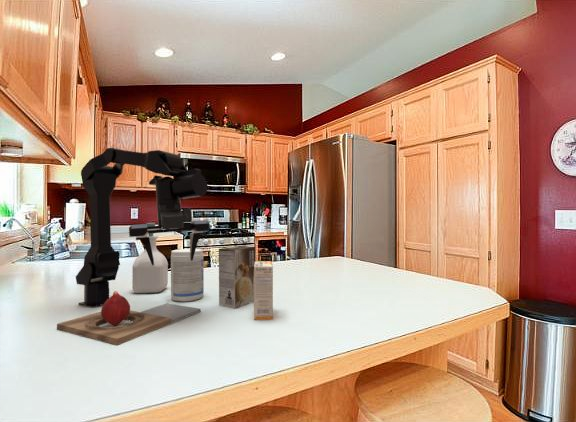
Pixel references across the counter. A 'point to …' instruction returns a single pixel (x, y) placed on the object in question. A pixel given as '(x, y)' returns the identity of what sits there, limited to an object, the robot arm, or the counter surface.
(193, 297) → the supplement tub
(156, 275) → the soap bottle
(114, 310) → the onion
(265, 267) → the supplement box
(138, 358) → the counter surface
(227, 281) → the coffee box
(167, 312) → the plate
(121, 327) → the walnut bore board
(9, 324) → the counter surface
